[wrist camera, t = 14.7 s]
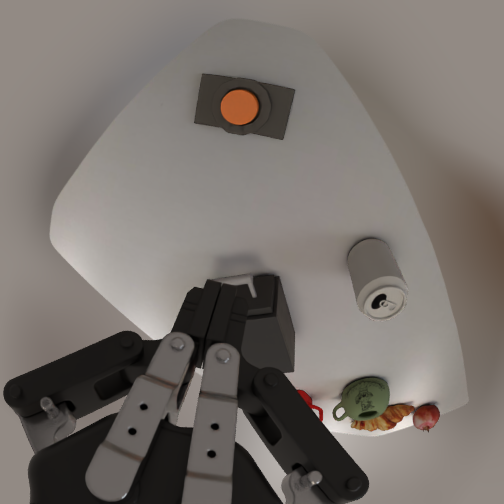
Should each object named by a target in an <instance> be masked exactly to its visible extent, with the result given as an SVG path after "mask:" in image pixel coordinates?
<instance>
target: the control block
mask: <svg viewBox="0 0 504 504" xmlns="http://www.w3.org/2000/svg"><path fill="white" fill-rule="evenodd" d="M234 90H247V91H249V92H251V93H253V94H254V95H255V97H256V98H257V100H258V103H259V110H258V113H257V115H256V116H255V117H254V119H253V120H251V121H250V122H249V123H246V124H243V125H235V124H232V123H230V122H228V121H227V120H226V119H225V118H224V117H223V115H222V113H221V102H222V100H223V98H224V97H225V95H226V94H228V93H229V92H231V91H234ZM294 92H295V90H294V89H290V88H285V87H281V86H276V85H271V84H267V83H261V82H257V81H255V80H251V79H245V78H232V77H225V76H218V75H210V74H202V78H201V84H200V90H199V96H198V102H197V108H196V115H195V121H194V123H196V124H203V125H209V126H215V127H221V128H223V129H224V130H225V131H226V132H228V133H233V134H238V135H246V134H249V133H253V134H258V135H262V136H267V137H271V138H276V139H280V140H283V138H284V134H285V130H286V126H287V121H288V117H289V113H290V109H291V105H292V100H293V96H294Z"/></svg>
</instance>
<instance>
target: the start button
mask: <svg viewBox="0 0 504 504" xmlns="http://www.w3.org/2000/svg"><path fill="white" fill-rule="evenodd" d="M258 110H259V103H258V100H257V98H256V97H255V95H254V94H253V93H251V92H249V91H247V90H234V91H231V92H229V93H228V94H226V95H225V97H224V98H223V100H222V102H221V113H222V115H223V117H224V118H225V119H226V120H227V121H228V122H230V123H232V124H235V125H243V124H246V123H249V122H250V121H251V120H253V119H254V117H255V116H256V115H257V113H258Z"/></svg>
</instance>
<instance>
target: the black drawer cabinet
mask: <svg viewBox="0 0 504 504" xmlns="http://www.w3.org/2000/svg"><path fill="white" fill-rule="evenodd" d="M241 352H242V355H243V357H244V358H245V360H246V361H247V362H249V363H250V364H251V365H253V366H255V367H257V368H259V369H261V368H264V367H273V368H276V369H279V370H280V371H282V372H283V373H289V372H294V359H295V331H294V327H293V324H292V320H291V317H290V313H289V309H288V306H287V302H286V299H285V295H284V292H283V288H282V284H281V281H280V277H275V291H274V303H273V313H272V314H267V315H259V316H250V317H247V319H246V325H245V330H244V336H243V341H242V346H241Z"/></svg>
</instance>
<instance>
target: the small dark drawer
mask: <svg viewBox="0 0 504 504" xmlns="http://www.w3.org/2000/svg"><path fill="white" fill-rule="evenodd" d="M212 280H214V281H218V282H222V284H223V283H227V284H231V285H236V286H237V291H236V297H240V298H245V299H246V301H247V304H248V306H249V308H248V314H247V317H250V316H259V315H267V314H272V313H273V303H274V291H275V277H274V275H268V276H262V277H256V278H253V276H252V274H244V275H238V276H232V277H225V278H219V279H212ZM221 288H222V287H221Z"/></svg>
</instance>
